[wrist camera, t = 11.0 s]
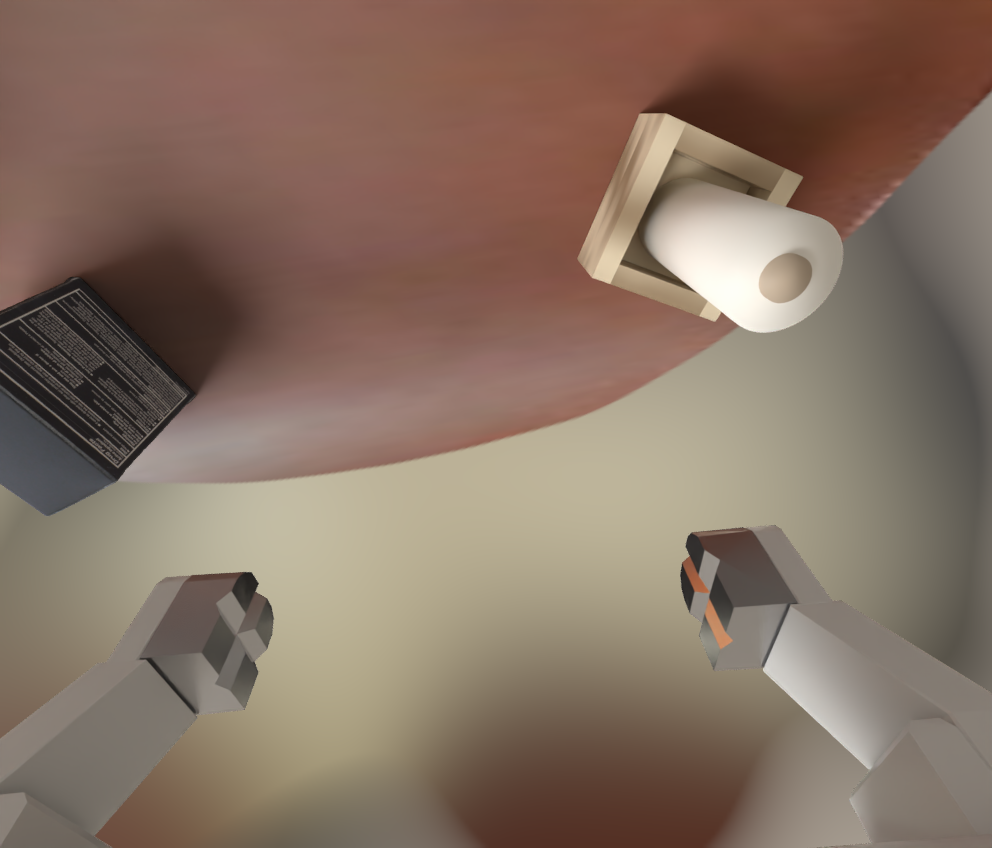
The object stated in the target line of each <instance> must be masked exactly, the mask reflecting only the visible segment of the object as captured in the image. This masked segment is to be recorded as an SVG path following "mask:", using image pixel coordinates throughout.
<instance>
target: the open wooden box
mask: <svg viewBox="0 0 992 848" xmlns="http://www.w3.org/2000/svg"><path fill="white" fill-rule="evenodd" d="M679 178H694V179H697V180H701V181H704V182H707V183H710V184H714V185H717V186H720V187H723V188H727V189H730V190H733V191H736V192H740V193H743V194H746V195H749V196H752V197H756V198H759V199H762V200H765V201H769V202H772V203H775V204H778V205H782V206H785V207H786V205H787V203H788V202H789V200H790V198H791V197H792V195H793V193H794V192H795V190H796V188H797V187H798V185H799V184H800V182H801V180H802V179H803V176H800V175H798V174H796V173H794V172H792V171H790V170H787V169H785V168H783V167H781V166H779V165H777V164H774V163H772V162H770V161H768V160H766V159H764V158H762V157H759V156H757V155H755V154H753V153H751V152H749V151H746V150H744V149H742V148H740V147H738V146H736V145H733V144H731V143H729V142H727V141H725V140H723V139H720V138H718V137H716V136H714V135H712V134H710V133H707V132H705V131H703V130H701V129H699V128H697V127H694V126H692V125H690V124H688V123H686V122H684V121H681V120H679V119H677V118H675V117H673V116H671V115H668V114H666V113H663V114H639V116H638V119H637V121H636V123H635V126H634V128H633V130H632V133H631V135H630V137H629V140H628V142H627V144H626V147H625V149H624V151H623V154H622V156H621V158H620V161H619V163H618V165H617V168H616V170H615V172H614V175H613V177H612V179H611V182H610V184H609V186H608V189H607V191H606V193H605V196H604V198H603V200H602V203H601V205H600V207H599V210H598V212H597V214H596V217H595V219H594V221H593V224H592V226H591V228H590V231H589V233H588V235H587V238H586V240H585V242H584V245H583V247H582V249H581V252H580V254H579V256H578V261H579V262H580V263H581V264H582V266H583V267H584V268H585V269H586V271H587V272H588V273H589V274H590V276H591V277H592V278H595V279H598V280H600V281H603V282H606V283H609V284H612V285H614V286H617V287H620V288H623V289H625V290H628V291H631V292H634V293H637V294H639V295H642V296H645V297H648V298H651V299H653V300H656V301H659V302H662V303H664V304H667V305H670V306H673V307H676V308H678V309H681V310H684V311H687V312H690V313H692V314H695V315H698V316H701V317H703V318H706V319H709V320H712V321H716V320H717V318H718V317H719V315H720V313H721V311H720V310H719V309H717V308H716V307H715V306H714V305H712V304H711V303H710V302H709V301H707V300H706V299H705V298H704V297H702V296H701V295H700V294H698V293H697V292H696V291H695V290H693V289H692V288H691V287H690V286H688V285H687V284H686V283H685V282H683V281H682V280H681V279H679V278H678V277H677V276H676V275H674V274H673V273H672V272H671V271H669V270H668V269H667V268H666V267H664V266H663V265H662V264H660V263H659V262H658V261H657V260H655V259H654V258H653V257H652V256H650V255H649V254H648V253H647V252H646V250H645V249H644V247H643V246H642V243H641V241H640V237H639V222H640V220H641V218H642V216H643V214H644V212H645V209H646V207H647V205H648V203H649V201H650V199H651V197H652V195H653V193H654V192H655V191H657V190H658V189H659V188H660V187H661V186H663V185H664V184H666V183H668V182H670V181H672V180H675V179H679Z"/></svg>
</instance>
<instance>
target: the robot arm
mask: <svg viewBox="0 0 992 848" xmlns="http://www.w3.org/2000/svg"><path fill="white" fill-rule="evenodd" d="M686 549H687V551H688V553H689V555H690V556H689V557H688V558H687V559H686V560H685V561H684V562H682V567H681V574H680V577H681V588H682V592H683V596H684V600H685V602H686V605H687V608H688V610H689V612H690V614H691V615H693V616H694V617H695V618H697V619H698V620H699V621H700V622H702V626H701V630H700V634H699V637H700V639H701V641H702V644H703V646H704V648H705V651H706V653H707V656H708V658H709V660H710V662H711V665H712V667H713V670H714V671H719V670H737V669H755V668H764V669H763V671H764V672H765V673H766V674H767V675H768V676H769V677H770V678H771V679H772V680H773V681H774V682H776V683H777V684H778V685H779V686H780V687H781V688H782V689H783V690H784V691H785V692H786V693H787V694H788V695H789V696H791V697H792V698H793V699H794V700H795V701H796V702H797V703H798V704H799V705H800V706H801V707H802V708H803V709H804V710H806V711H807V712H808V713H809V714H810V715H811V716H812V717H813V718H814V719H815V720H816V721H817V722H819V724H821V725H822V726H823V727H824V728H825V729H826V730H827V731H828V732H829V733H830V734H831V735H832V736H833V737H835V738H836V739H837V740H838V741H839V742H840V743H841V744H842V745H843V746H844V747H845V748H846V749H847V750H849V751H850V752H851V753H852V754H853V755H854V756H855V757H856V758H857V759H858V760H859V761H860V762H861V763H862V764H864V765H865V766H866V767H867V768H868V769H869V771H868V773H867V774H866V775H865V776H864V778H863V779H862V780H861V781H860V783H859V784H858V785H857V786H856V787H855V788H854V790H853V792H852V794H851V797H850V799H849V801H850V803H851V805H852V807H853V808H854V810H855V812H856V814H857V816H858V818H859V820H860V822H861V824H862V825H863V828H864V830H865V832H866V834H867V836H868V837H869V839H870V841H871V843H869V844H857V845H844V846H831V847H819V848H992V693H990V692H989V691H987V690H985V689H984V688H982V687H981V686H979V685H977V684H976V683H974V682H972V681H971V680H969V679H967V678H966V677H964V676H963V675H961V674H960V673H958V672H956V671H955V670H953V669H951V668H950V667H948V666H946V665H945V664H943V663H942V662H940V661H939V660H937V659H935V658H934V657H932V656H930V655H929V654H927V653H926V652H924V651H922V650H921V649H919V648H918V647H916V646H914V645H913V644H911V643H909V642H908V641H906V640H905V639H903V638H901V637H900V636H898V635H896V634H895V633H893V632H892V631H890V630H888V629H886V628H885V627H884V626H882V625H880V624H879V623H877V622H875V621H874V620H872V619H870V618H869V617H867V616H866V615H864V614H862V613H861V612H859V611H858V610H856V609H854V608H853V607H851V606H850V605H848V604H846V603H844V602H843V601H832V600H831V598H830V597H829V596H828V594H827V593H826V591H825V590H824V588H823V587H822V586H821V584H820V583H819V581H818V580H817V579H816V577H815V576H814V574H813V573H812V572H811V570H810V569H809V568H808V566H807V565H806V563H805V562H804V561H803V559H802V558H801V556H800V555H799V554H798V552H797V551H796V549H795V548H794V547H793V545H792V544H791V542H790V541H789V540H788V538H787V537H786V535H785V534H784V533H783V531H782V530H781V529H780V528H779V527H777V526H776V525H770V526H758V527H747V528H743V527H742V528H732V529H722V530H712V531H701V532H692V533H691V534H690V535H689V536H688V538H687V542H686ZM258 584H259V583H258V582H257V580H256V578H255V577H254V575H253V574H252V572H238V573H221V574H205V575H191V576H177V577H166V578H164V579H163V580H162V581H160V582H159V583H158V584H156V586H155V587H154V589H153V590H152V592H151V593H150V595H149V597H148V598H147V600H146V601H145V603H144V604H143V606H142V607H141V609H140V611H139V612H138V614H137V615H136V617H135V618H134V620H133V622H132V623H131V625H130V626H129V628H128V629H127V631H126V632H125V634H124V635H123V637H122V639H121V640H120V642H119V643H118V645H117V646H116V648H115V649H114V651H113V653H112V654H111V656H110V657H109V659H108V661H107V662H106V663H97V664H96V665H95V666H93V667H92V668H91V669H90V670H88V671H87V672H86V673H84V674H83V675H82V676H80V677H79V678H78V679H77V680H75V681H74V682H73V683H72V684H70V685H69V686H68V687H66V688H65V689H64V690H62V691H61V692H60V693H59V694H57V695H56V696H55V697H53V698H52V699H51V700H50V701H48V702H47V703H46V704H44V705H43V706H42V707H41V708H39V709H38V710H37V711H35V712H34V713H33V714H32V715H30V716H29V717H28V718H26V719H25V720H24V721H22V722H21V723H20V724H19V725H17V726H16V727H15V728H13V729H12V730H11V731H10V732H8V733H7V734H6V735H4V736H3V737H2V738H1V739H0V848H112V847H110V846H109V845H107V844H106V843H104V842H102V841H101V840H99V839H98V838H96V837H94V836H95V835H96V834H97V832H98V831H99V830H100V829H101V828H102V827H103V825H104V824H105V823H106V822H107V821H108V820H109V819H110V818H111V816H112V815H113V814H114V813H115V812H116V811H117V810H118V808H119V807H120V806H121V805H122V804H123V803H124V801H125V800H126V799H127V798H128V797H129V796H130V795H131V793H132V792H133V791H134V790H135V789H136V788H137V786H138V785H139V784H140V783H141V782H142V781H143V780H144V778H145V777H146V776H147V775H148V774H149V773H150V772H151V771H152V769H153V768H154V767H155V766H156V765H157V764H158V763H159V761H160V760H161V759H162V758H163V757H164V756H165V755H166V753H167V752H168V751H169V750H170V749H171V748H172V746H173V745H174V744H175V743H176V742H177V741H178V740H179V738H180V737H181V736H182V735H183V734H184V733H185V731H186V730H187V729H188V728H189V727H190V726H191V725H192V723H193V722H194V721H195V720H196V719H197V716H196V715H202V714H211V713H220V712H229V711H238V710H245V707H246V705H247V702H248V699H249V696H250V694H251V691H252V689H253V686H254V683H255V680H256V678H257V675H258V670H257V667H256V664H255V660H256V659H257V658H258V657H259V656H260V655H261V654H262V653H263V652H264V651H266V650H267V648H268V645H269V641H270V639H271V636H272V631H273V630H272V629H273V620H274V617H273V612H272V607H271V605H270V603H269V601H268V599H267V598H265V597H264V596H262V595H260V594H258V593H257V592H255V591H256V589H257V586H258Z"/></svg>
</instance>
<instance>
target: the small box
mask: <svg viewBox="0 0 992 848" xmlns="http://www.w3.org/2000/svg"><path fill="white" fill-rule="evenodd" d="M195 396H196V395H195V393H194V392H193V391H192V390H191V389H190V388H189V387H188V386H187V385H186V384H185V383H184V382H183V381H182V380H181V379H180V378H179V377H178V376H177V375H176V374H175V373H174V372H173V371H172V370H171V369H170V368H169V367H168V366H167V365H166V364H165V363H164V362H163V361H162V360H161V359H160V358H159V357H158V355H156V354H155V353H154V352H153V351H152V349H151V348H150V347H149V346H148V345H147V344H146V343H145V342H144V341H143V340H142V339H141V338H140V337H139V336H138V335H137V334H136V333H135V332H134V331H133V330H132V329H131V328H130V327H129V326H128V325H127V324H126V323H125V322H124V321H123V320H122V319H121V318H120V317H119V316H118V315H117V314H116V313H115V312H114V311H113V310H112V309H111V308H110V307H109V306H108V305H107V304H106V303H105V302H104V301H103V300H102V299H101V298H100V297H99V296H98V295H97V294H96V293H95V292H94V291H93V290H92V289H91V288H90V287H89V286H88V285H87V284H86V283H85V282H84V281H83V280H82V279H81V278H78V277H70V278H68V279H67V280H66V281H65V282H64V283H62V284H60V285H58V286H55V287H53V288H51V289H49V290H47V291H44V292H42V293H40V294H38V295H35V296H33V297H31V298H28V299H26V300H24V301H22V302H19V303H17V304H15V305H13V306H11V307H8V308H6V309H4V310H2V311H0V484H1V485H3V486H4V487H5V488H7V489H8V490H10V491H11V492H13V493H14V494H16V495H17V496H19V497H20V498H21V499H23V500H24V501H25V502H27V503H28V504H30V505H31V506H33V507H34V508H35V509H37V510H38V511H40V512H41V513H42V514H44V515H45V516H50V515H52V514H55V513H57V512H59V511H61V510H63V509H65V508H67V507H69V506H71V505H73V504H75V503H77V502H79V501H81V500H83V499H85V498H86V497H88V496H90V495H92V494H94V493H96V492H98V491H100V490H102V489H104V488H105V487H108V486H109V485H111V484H113V483H115V482H116V481H118V479H119V478H120V477H121V476H122V475H123V473H124V472H125V470H126V469H127V468H128V467H129V466H130V465H131V464H132V463H133V461H134V460H135V459H136V458H137V457H138V456H139V455H140V454H141V453H142V452H143V450H144V449H145V448H147V446H148V445H149V444H150V443H151V442H152V441H153V440H154V439H155V438H156V437H157V436H158V435H159V434H160V433H161V432H162V431H163V429H164V428H165V427H166V426H167V425H168V424H169V423H170V422H171V420H172V419H173V418H175V416H176V415H177V414H178V413H179V412H180V411H181V410H182V409H183V408H184V407H185V406H186V404H188V403H189V402H191V401H192V400H193V399H194V398H195Z"/></svg>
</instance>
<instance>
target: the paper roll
mask: <svg viewBox="0 0 992 848" xmlns="http://www.w3.org/2000/svg"><path fill="white" fill-rule="evenodd" d="M639 237H640V241H641V243H642V246H643V247H644V249H645V250H646V252H647V253H648V254H649V255H650V256H652V257H653V258H654V259H655V260H657V261H658V262H659V263H660V264H662V265H663V266H664V267H666V268H667V269H668V270H669V271H671V272H672V273H673V274H674V275H676V276H677V277H678V278H679V279H681V280H682V281H683V282H685V283H686V284H687V285H688V286H690V287H691V288H692V289H693V290H695V291H696V292H697V293H698V294H700V295H701V296H702V297H704V298H705V299H706V300H707V301H709V302H710V303H711V304H712V305H714V306H715V307H716V308H717V309H719V310H720V311H721V312H723V313H724V314H725V315H726V316H728V317H729V318H730V319H731V320H733V321H734V322H735V323H736V324H738V325H739V326H741V327H742V328H745V329H747V330H750V331H754V332H774V331H779V330H783V329H785V328H788V327H790V326H792V325H795V324H797V323H798V322H800V321H802V320H803V319H805V318H806V317H808V316H809V315H810V314H812V313H813V312H814V311H815V310H816V309H817V308H818V307H819V306H820V305H821V304H822V303H823V302H824V301H825V299H826V298H827V297H828V296H829V294H830V292H831V291H832V289H833V288H834V286H835V284H836V282H837V280H838V277H839V275H840V271H841V268H842V263H843V246H842V241H841V238H840V236H839V234H838V232H837V230H836V229H835V228H834V227H833V226H832V225H831V224H830V223H829V222H828V221H826V220H824V219H822V218H820V217H817V216H814V215H811V214H807V213H804V212H801V211H798V210H795V209H791V208H788V207H785V206H782V205H778V204H775V203H772V202H769V201H765V200H762V199H759V198H756V197H752V196H749V195H746V194H743V193H740V192H736V191H733V190H730V189H727V188H723V187H720V186H717V185H714V184H710V183H707V182H704V181H701V180H697V179H694V178H679V179H675V180H672V181H670V182H668V183H666V184H664V185H663V186H661V187H660V188H659V189H658V190H657V191H655V192H654V193H653V195H652V197H651V199H650V201H649V203H648V205H647V207H646V209H645V212H644V214H643V216H642V218H641V220H640V222H639Z"/></svg>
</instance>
